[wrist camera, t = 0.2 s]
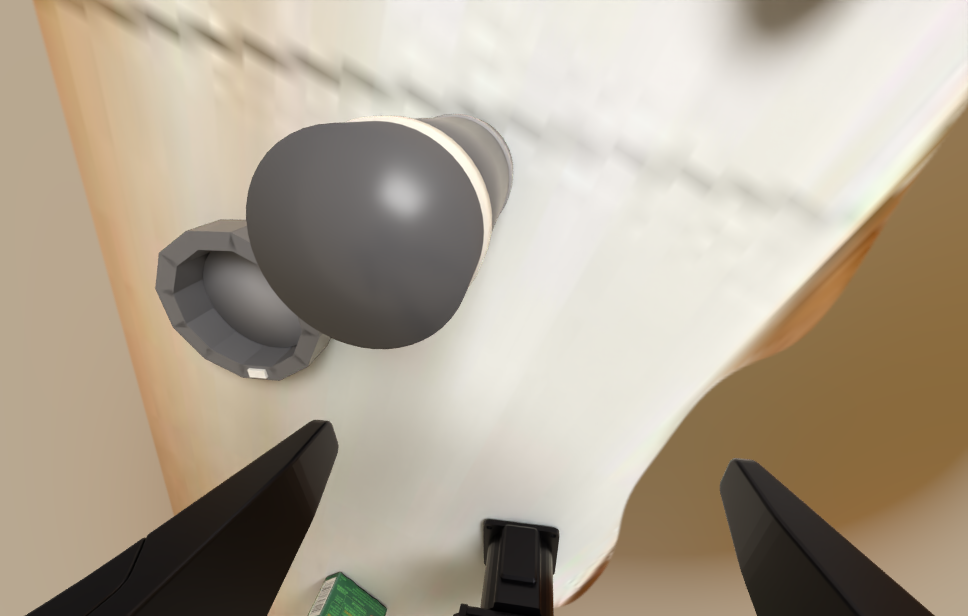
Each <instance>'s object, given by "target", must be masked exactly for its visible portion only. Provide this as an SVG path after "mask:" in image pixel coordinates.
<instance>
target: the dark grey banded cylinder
mask: <svg viewBox="0 0 968 616" xmlns="http://www.w3.org/2000/svg"><path fill="white" fill-rule="evenodd" d="M512 182H513V162H512V157H511V154H510V150H509V148H508V146H507V144H506V142H505V141H504V139H503V137H502V136H501V135H500V134H499V132H497V131H496V130H495V129H494V128H493V127H492V126H491V125H489V124H488V123H486V122H484V121H482V120H480V119H477V118H474V117H472V116H468V115H463V114H447V115H441V116H437V117H434V118H418V119H412V118H407V117H402V116H370V117H360V118H356V119H352V120H348V121H346V122H344V123H329V124H318V125H314V126H310V127H306V128H303V129H301V130H298V131H296V132H294V133H292V134H289V135H288V136H286V137H285V138H284V139H282V140H281V141H279V142H278V143H277V144H275V145H274V146H273V147H272V148H271V149H270V150H269V151H268V152H267V153H266V155H265V156H264V158H263V159H262V161H261V162H260V163H259V165H258V167H257V169H256V171H255V173H254V175H253V177H252V180H251V184H250V187H249V190H248V197H247V204H246V222H247V230H248V236H249V240H250V244H251V248H252V251H253V254H254V256H255V259H256V262H257V264H258V266H259V268H260V270H261V272H262V274H263V276H264V277H265V279H266V280H267V282H268V284H269V285H270V287H271V288H272V289H273V291H274V292H275V293H276V295H277V296H278V297H279V298H280V300H281V301H282V302H283V303H284V304H285V305H286V306H287V307H288V308H289V309H290V310H291V311H292V312H293V313H294V314H295V315H297V316H298V317H299V318H300V319H301V320H303V321H304V322H305V323H307V324H308V325H310V326H311V327H312V328H314V329H316V330H318V331H319V332H321V333H323V334H325V335H327V336H329V337H331V338H333V339H335V340H338V341H341V342H344V343H346V344H350V345H354V346H358V347H363V348H371V349H392V348H400V347H404V346H408V345H412V344H415V343H417V342H420V341H422V340H424V339H426V338H428V337H430V336H431V335H433V334H434V333H436V332H437V331H438V330H440V329H441V328H442V327H443V326H444V325H445V324H446V323H447V322H448V321H449V320H450V319H451V318H452V316H453V315H454V314H455V312H456V311H457V309H458V308H459V306H460V304H461V302H462V300H463V298H464V296H465V293H466V291H467V289H468V287H469V286H470V284H471V283H472V281H473V280H474V279H475V277H476V275H477V273H478V271H479V269H480V267H481V265H482V263H483V260H484V258H485V255H486V252H487V249H488V246H489V243H490V238H491V233H492V230H493V228H494V225H495V223H496V221H497V218H498V216H499V214H500V213H501V211H502V210H503V208H504V206H505V204H506V202H507V200H508V198H509V195H510V192H511V188H512Z"/></svg>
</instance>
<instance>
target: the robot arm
mask: <svg viewBox="0 0 968 616" xmlns="http://www.w3.org/2000/svg"><path fill="white" fill-rule="evenodd" d="M337 453H338V441H337V438H336V435H335V432H334V429H333V426H332V423H331V422H329V421H324V420H313V421H311V422H309V423H308V424H306V425H305V426H303V427H302V428H300V429H299V430H298V431H296V432H295V433H293V434H292V435H290V436H289V437H288V438H286V439H285V440H283V441H282V442H280V443H279V444H277V445H276V446H275V447H273V448H272V449H270V450H269V451H267V452H266V453H265V454H263V455H262V456H260V457H259V458H257V459H256V460H254V461H253V462H252V463H250V464H249V465H247V466H246V467H244V468H243V469H242V470H240V471H239V472H237V473H236V474H234V475H233V476H231V477H230V478H229V479H227V480H226V481H224V482H223V483H221V484H220V485H219V486H217V487H216V488H214V489H213V490H211V491H210V492H208V493H207V494H206V495H204V496H203V497H201V498H200V499H198V500H197V501H196V502H194V503H193V504H191V505H190V506H188V507H187V508H186V509H184V510H183V511H181V512H180V513H178V514H177V515H175V516H174V517H173V518H171V519H170V520H168V521H167V522H166V523H164V524H163V525H161V526H160V527H158V528H157V529H155V530H154V531H153V532H151V533H150V534H148V535H147V537H146V538H142V539H141V540H139V541H138V542H137V543H135V544H134V545H132V546H131V547H129V548H128V549H126V550H125V551H124V552H122V553H121V554H119V555H118V556H116V557H115V558H113V559H112V560H110V561H109V562H107V563H106V564H104V565H103V566H101V567H100V568H99V569H97V570H96V571H94V572H93V573H91V574H90V575H88V576H87V577H85V578H84V579H82V580H80V581H79V582H77V583H76V584H74V585H73V586H71V587H69V588H68V589H66V590H65V591H63V592H62V593H60V594H59V595H57V596H55V597H54V598H52V599H51V600H49V601H48V602H46V603H44V604H43V605H41V606H40V607H38V608H36V609H35V610H33V611H32V612H30V613H28V614H27V615H25V616H267V614H268V612H269V610H270V608H271V606H272V604H273V602H274V600H275V598H276V596H277V593H278V591H279V589H280V587H281V585H282V583H283V581H284V579H285V577H286V575H287V573H288V571H289V568H290V566H291V564H292V562H293V560H294V558H295V556H296V554H297V552H298V550H299V548H300V546H301V543H302V541H303V539H304V537H305V535H306V533H307V531H308V529H309V527H310V525H311V522H312V520H313V518H314V516H315V513H316V511H317V508H318V505H319V503H320V500H321V497H322V495H323V492H324V489H325V486H326V484H327V481H328V478H329V475H330V473H331V470H332V467H333V464H334V462H335V459H336V456H337ZM720 494H721V497H722V501H723V505H724V509H725V513H726V517H727V521H728V524H729V528H730V532H731V536H732V539H733V543H734V547H735V551H736V555H737V559H738V562H739V566H740V569H741V572H742V575H743V578H744V581H745V584H746V586H747V589H748V592H749V595H750V597H751V600H752V603H753V606H754V608H755V611H756V614H757V616H935V615H933V614H932V613H931V612H930V611H928V609H926V608H925V607H924V606H923V605H922V604H921V603H920V602H918V601H917V600H916V599H915V598H914V597H913V596H911V595H910V594H909V593H908V592H907V591H906V590H905V589H903V588H902V587H901V586H900V585H899V584H898V583H896V582H895V581H894V580H893V579H892V578H891V577H889V576H888V575H887V574H886V573H885V572H883V570H881V569H880V568H879V567H878V566H877V565H876V564H874V563H873V562H872V561H871V560H870V559H869V558H868V557H866V556H865V555H864V554H863V553H862V552H860V551H859V550H858V549H857V548H856V547H854V546H853V545H852V544H851V543H850V542H849V541H848V540H847V539H846V538H844V537H843V536H842V535H841V534H840V533H839V532H837V531H836V530H835V529H834V528H833V527H832V526H831V525H829V524H828V523H827V522H826V521H825V520H824V519H822V518H821V517H820V516H819V515H818V514H816V513H815V512H814V511H813V510H812V509H811V508H810V507H808V506H807V505H806V504H805V503H804V502H803V501H802V500H800V499H799V498H798V497H797V496H796V495H795V494H793V493H792V492H791V491H790V490H789V489H788V488H787V487H785V486H784V485H783V484H782V483H781V482H780V481H778V480H777V479H776V478H775V477H774V476H773V475H772V474H770V473H769V472H768V471H767V470H766V469H765V468H763V467H762V466H761V465H760V464H759V463H757V462H755V461H754V460H750V459H749V460H748V459H739V458H734V459H732V460H731V461H730V462H729V464H728V467H727V469H726V471H725V473H724V476H723V478H722V480H721V482H720ZM558 543H559V530H558V529H556V528H552V527H544V526H536V525H528V524H520V523H512V522H504V521H496V520H485V521H484V564H485V565H486V568H485V576H484V584H483V592H482V600H481V608H478V607H471V606H468V604H461V606H460V610H459V613H456V614H454V615H453V616H554V615H553V575H554V573H555V566H556V558H557V551H558Z"/></svg>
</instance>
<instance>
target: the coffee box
mask: <svg viewBox="0 0 968 616" xmlns="http://www.w3.org/2000/svg"><path fill="white" fill-rule="evenodd" d="M386 611H387V608H385V607H384V606H382V605H381V604H380V603H379V601H378V600H376V599H374V598H372V597H371V596H370V595H368V594H367V593H366V592H365V591H363V590H362V589H361V588H359V587H358V586H357V585H356V584H355V583H354V582H353V581H352V580H351V579H348V578H347V577H345V576H344V575H343V574H342V573H341V572H339V573H337V574H334V575H331V576H328V577H327V578H326V580H325V581H324V583H323V586H322V588H321V589H320V592H319V594H318V596H317V598H316V600H315V602H314V604H313V606H312V608H311V610H310V612H309V614H308V616H385V614H386Z"/></svg>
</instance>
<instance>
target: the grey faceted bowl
mask: <svg viewBox="0 0 968 616" xmlns="http://www.w3.org/2000/svg"><path fill="white" fill-rule="evenodd" d="M155 289H156V291H157V293H158V296H159V298H160V300H161V302H162V304H163V307H164V309H165V311H166V313H167V315H168V318H169V320H170V322H171V324H172V326H173V328H174V329H175V330H176V331H177V332H178V333H179V334H180V335H181V336H182V337H183V338H184V339H185V340H186V341H187V342H188V343H189V344H190V345H191V346H192V347H193V348H194V349H195V350H196V351H197V352H198V353H199V354H200V355H202V356H203V357H204V358H205V359H206V360H208V361H210V362H212V363H214V364H217V365H219V366H221V367H223V368H225V369H227V370H229V371H231V372H233V373H235V374H237V375H239V376H241V377H243V378H254V379H266V380H278V381H280V380H282V379H284V378H286V377H288V376H290V375H292V374H294V373H296V372H298V371H300V370H302V369H304V368H306V367H308V366H309V365H310V364H311V362H312V361H313V360H314V359H315V358H316V357H317V356H318V355H319V354H320V353H321V352H322V351H323V349H324V348H325V347H326V346H327V345H328V342H329V340H330V338H331V337H329V336H327V335H325V334H323V333H321V332H319V331H318V330H316V329H314V328H312V327H311V326H310V325H308V324H307V323H305V322H304V321H303V320H301V319H300V318H299V317H298V316H297V315H295V314H294V313H293V312H292V311H291V310H290V309H289V308H288V307H287V306H286V305H285V304H284V303H283V302H282V301H281V300H280V298H279V297H278V296H277V295H276V293H275V292H274V291H273V289H272V288H271V287H270V285H269V284H268V282H267V280H266V279H265V277H264V276H263V274H262V272H261V270H260V268H259V266H258V264H257V262H256V259H255V256H254V254H253V251H252V248H251V244H250V240H249V236H248V230H247V222H246V220H218V221H215V222H212V223H209V224H206V225H203V226H200V227H197V228H194V229H191V230H188V231H186V232H184V233H183V234H182V235H181V236H179V237H178V238H177V239H176V240H174V241H173V242H172V243H171V244H169V245H168V246H167V247H166V248H164V249H163V250H162V251H161V252H159V258H158V268H157V278H156V287H155Z"/></svg>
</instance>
